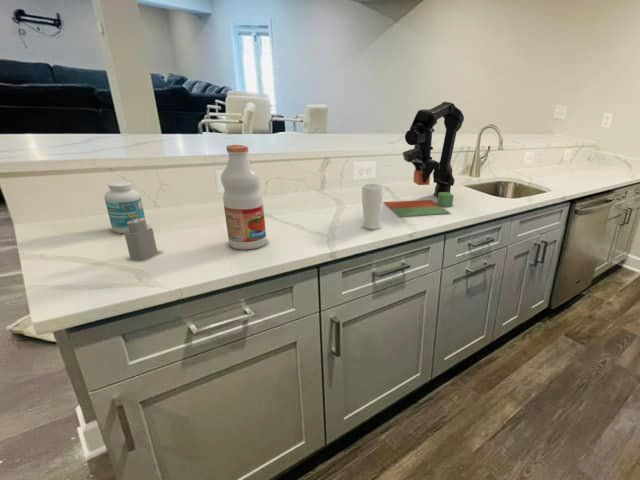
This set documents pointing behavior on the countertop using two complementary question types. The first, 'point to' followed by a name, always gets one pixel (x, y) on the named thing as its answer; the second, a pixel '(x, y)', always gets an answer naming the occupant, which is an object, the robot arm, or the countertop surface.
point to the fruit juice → (243, 201)
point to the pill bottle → (122, 205)
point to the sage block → (445, 199)
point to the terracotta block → (420, 178)
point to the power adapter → (140, 239)
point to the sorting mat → (416, 208)
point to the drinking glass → (371, 205)
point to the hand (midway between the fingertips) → (421, 181)
